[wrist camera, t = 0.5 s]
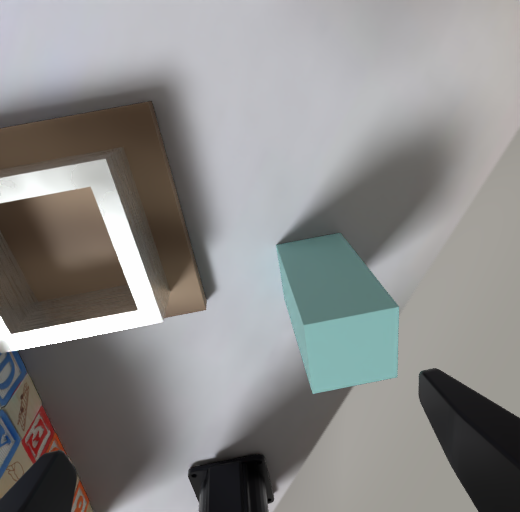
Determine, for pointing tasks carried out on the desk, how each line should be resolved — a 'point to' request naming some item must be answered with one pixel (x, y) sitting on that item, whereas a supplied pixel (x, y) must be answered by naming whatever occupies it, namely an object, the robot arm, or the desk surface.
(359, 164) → the desk surface
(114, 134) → the base board
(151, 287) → the frame
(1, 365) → the stack of blocks
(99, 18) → the desk surface
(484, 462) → the robot arm
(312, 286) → the teal block
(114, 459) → the desk surface
